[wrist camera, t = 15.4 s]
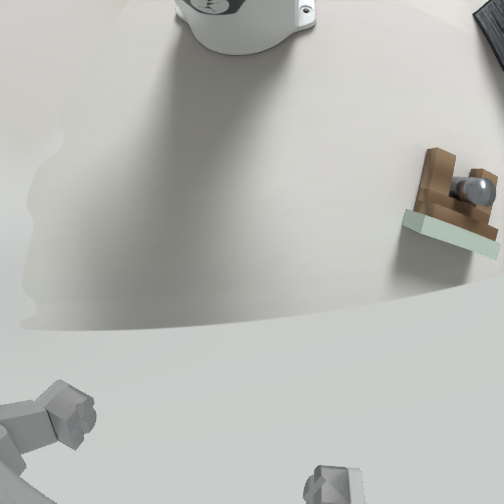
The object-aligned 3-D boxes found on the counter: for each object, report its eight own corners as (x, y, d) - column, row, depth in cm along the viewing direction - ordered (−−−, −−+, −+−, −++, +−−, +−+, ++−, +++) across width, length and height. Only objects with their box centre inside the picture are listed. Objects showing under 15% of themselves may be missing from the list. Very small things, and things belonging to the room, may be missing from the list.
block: (427, 149, 30) (447, 145, 25) (485, 176, 29) (509, 177, 24) (413, 211, 32) (432, 217, 27) (472, 232, 32) (495, 241, 26)
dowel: (445, 173, 31) (478, 174, 23) (463, 180, 31) (497, 183, 23) (441, 196, 32) (474, 202, 24) (458, 202, 31) (492, 210, 24)
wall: (406, 208, 33) (425, 215, 27) (476, 234, 32) (501, 244, 26) (401, 224, 33) (420, 233, 27) (472, 248, 32) (496, 260, 26)
